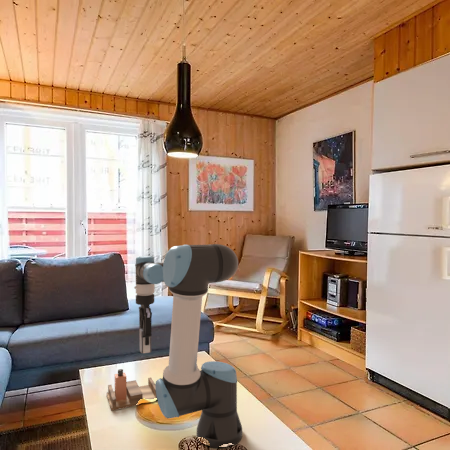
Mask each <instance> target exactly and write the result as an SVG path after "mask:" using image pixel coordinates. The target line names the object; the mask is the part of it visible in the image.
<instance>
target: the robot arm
mask: <svg viewBox="0 0 450 450" xmlns="http://www.w3.org/2000/svg"><path fill="white" fill-rule="evenodd" d="M134 266H135V268H134V269H135V286H134V287H133V288H134V289H135V294H136V295H135V304H136V305H138V313H139V314H138V315H139V316H138V317H139V321H138V324H139V326H138V327H139V328H138V329H142V328H143V330H144V336H142V338H143V354H149V353H151V352H150V336H151V337H152V316H153V312H152V309H151V307H150V305H153V304H154V303H155V294H154V293H155V285H159V284H161V283H164V284H165V286H167V287H168V291H169V292H170V293H171V294H172V295H173V298H172V312H171V326H170V328H171V329H170V339H169V340H170V341H169V342H170V343H169V355H168V365H167V366H166V367H164V369H163V372H162V378H158V379H156V381H155V388H156V396H157V400H158V401H157V404H158V407H159V410H160V412H161V414H162V416H164V417H165V419H174V418H180V417H181V416H185V415H188V414H193V413H196V412H200V411H201V414H200V417H199V420H198V423H197V427H196V437H197V436H198V437H203V438H205V439H207V440H208V441H209V443H210V447H209V448H214V449H219V448H218V447H219V446H221V445H223V444H228V443H232V444H235V445H236V444H238V443H239V442H241V440H242V438H243V426H242V422H241V420H240V416H239V414H238V408H237V407H238V405H237V403H238V399H237V397H238V390H237V389H238V387H237V386H238V385H237V383H238V376H237V370H236V368H235V367H234V366H233V365H231V364H230V363H227V362H223V361H215V360H214V361H211V360H210V361H205V362H203V363H202V364H201V367H200V368H199V367H198V368H197V367H196V365H197V366H198V363H197V362H198V353H199V352H198V351H199V340H200V339H199V338H200V328H201V317H202V316H201V315H202V304H203V297H204V296H205V295H207V293H208V292H209V285H210V284H214V283H216V284H217V283H222V282H225V281H227V280H230V279H231V278H232V277H234V275H236V272H237V271H238V268H239V259H238V256H237V254H236V253H235V251H234V250H233V249H232V248H230V247H229V246H227V245H224V244H219V243H212V244H182V245H174V246H172V247H170V248H169V250H168V251H166V254H165V257H164V259H163V262H155V257H153V256H151V255H140V256H139V255H138V256H136V257H135V264H134ZM200 369H201V370H200Z"/></svg>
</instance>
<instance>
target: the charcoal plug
mask: <svg viewBox="0 0 450 450" xmlns="http://www.w3.org/2000/svg"><path fill="white" fill-rule="evenodd" d="M138 329H139V328H138ZM138 333H139V335H138V336H139V338H138V339H139V353H141V354H144V353H143V338H142V336H144V330H143V328H142V329H139V331H138ZM150 353H152V335H151V336H150Z"/></svg>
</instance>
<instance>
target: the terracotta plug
mask: <svg viewBox="0 0 450 450" xmlns="http://www.w3.org/2000/svg"><path fill="white" fill-rule="evenodd" d="M126 382H127V375H126V372H124V369H122V368H121V369H117V373H115V374H114V391H115V397H116V401H118V400H123V399H127V397H126Z"/></svg>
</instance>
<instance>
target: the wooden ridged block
mask: <svg viewBox="0 0 450 450" xmlns="http://www.w3.org/2000/svg"><path fill="white" fill-rule="evenodd" d="M147 379H148V381H147V384H145V385H139V384H138V382H137V380H129V381H126V397H127V399H123V400H118V401H116V397H115V390H114V388H113V386H112V384H108V385H107V388H108V389H107V391H108V392H106V398H107V401H108V405H109V407H110V411H116V410H121V409H126V408H132V407H134V406H137V405H136V404H137V403H138V401H139V400H140V399H143V398H145V399H154V398H157V396H156V388H155V384H156V382H154V379H153V378H152V377H148V378H147Z"/></svg>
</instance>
